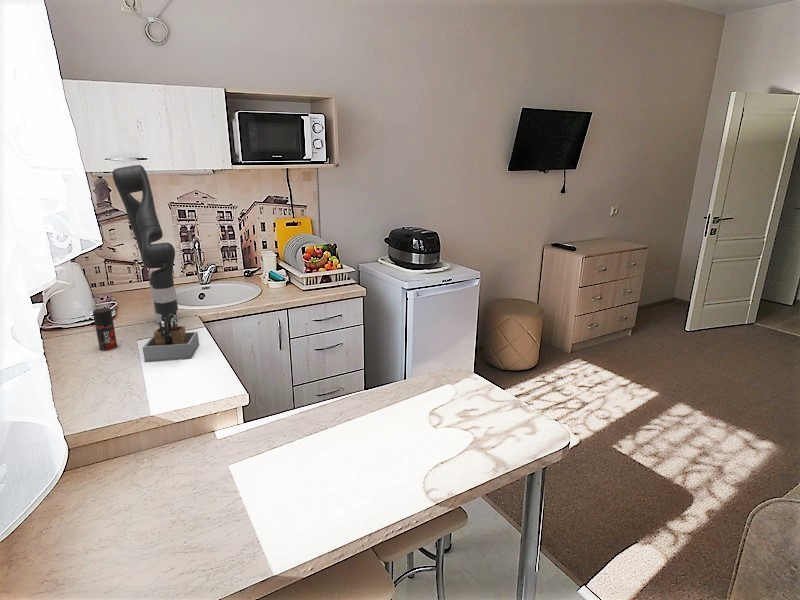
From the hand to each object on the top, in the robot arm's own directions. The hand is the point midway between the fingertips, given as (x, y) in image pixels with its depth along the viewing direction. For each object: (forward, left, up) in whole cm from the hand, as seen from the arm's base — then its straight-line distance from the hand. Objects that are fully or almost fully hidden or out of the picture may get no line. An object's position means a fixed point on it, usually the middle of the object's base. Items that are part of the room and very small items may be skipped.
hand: (171, 342), depth 184 cm
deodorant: (-11, -26, -4) cm, 29 cm away
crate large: (0, 0, -4) cm, 4 cm away
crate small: (0, 0, -1) cm, 1 cm away
